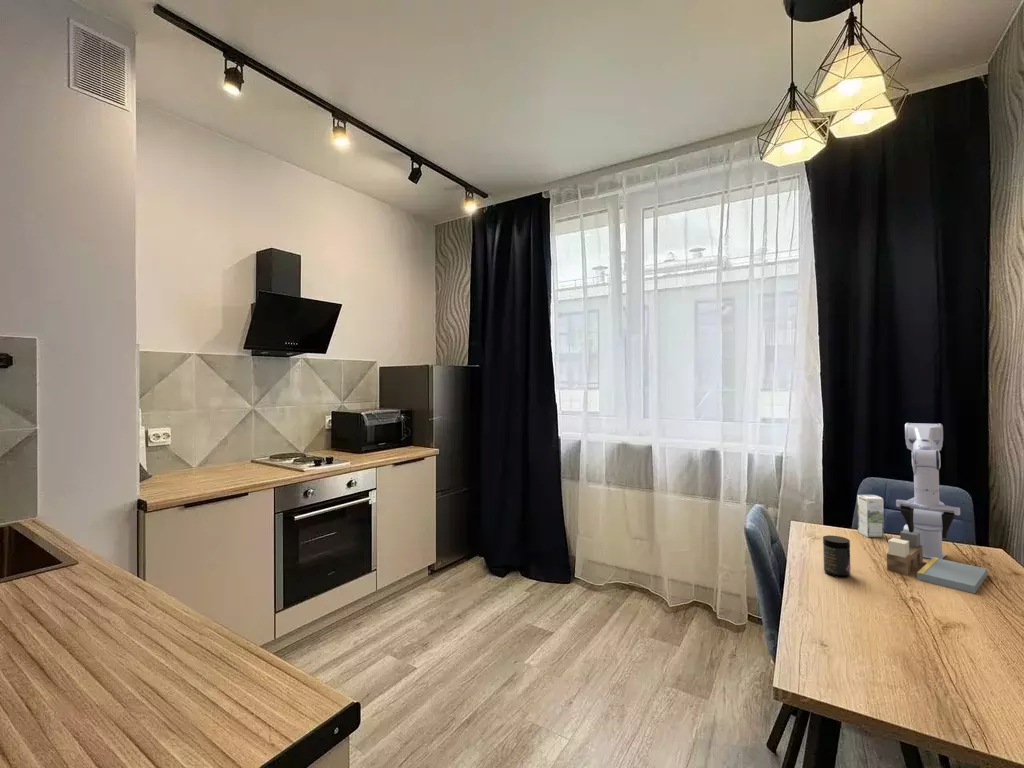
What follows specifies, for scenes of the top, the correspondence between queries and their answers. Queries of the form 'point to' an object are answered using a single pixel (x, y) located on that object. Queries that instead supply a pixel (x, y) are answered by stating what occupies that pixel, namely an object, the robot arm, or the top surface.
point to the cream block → (898, 547)
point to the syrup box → (870, 515)
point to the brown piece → (905, 561)
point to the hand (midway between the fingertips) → (927, 534)
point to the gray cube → (911, 538)
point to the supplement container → (836, 556)
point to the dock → (952, 574)
